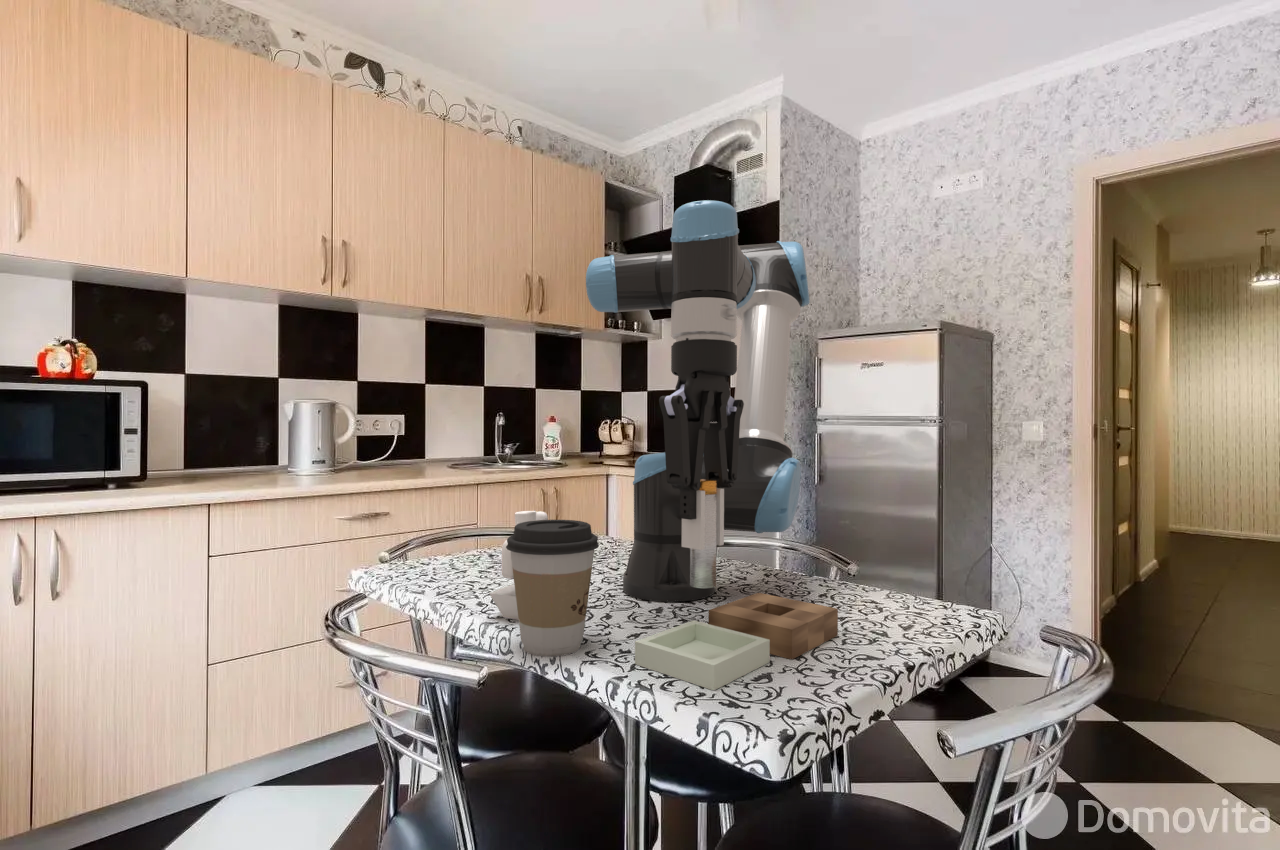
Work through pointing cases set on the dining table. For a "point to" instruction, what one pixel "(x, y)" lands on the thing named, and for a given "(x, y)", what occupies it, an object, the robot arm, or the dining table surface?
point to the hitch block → (779, 622)
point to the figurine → (507, 595)
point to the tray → (702, 653)
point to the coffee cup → (552, 583)
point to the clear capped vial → (706, 542)
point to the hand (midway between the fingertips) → (702, 545)
